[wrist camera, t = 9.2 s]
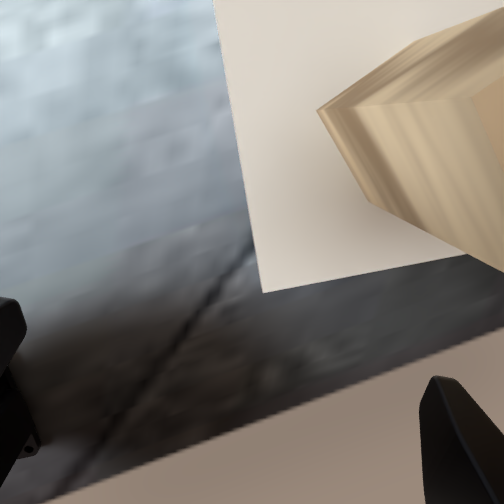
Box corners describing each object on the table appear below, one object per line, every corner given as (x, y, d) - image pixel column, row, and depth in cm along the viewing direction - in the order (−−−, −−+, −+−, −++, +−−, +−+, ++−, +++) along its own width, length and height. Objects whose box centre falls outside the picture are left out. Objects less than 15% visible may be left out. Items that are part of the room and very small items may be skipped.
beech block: (368, 201, 19) (558, 300, 9) (315, 110, 17) (471, 97, 7) (459, 140, 18) (778, 168, 8) (413, 40, 17) (737, -84, 7)
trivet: (261, 286, 21) (263, 293, 20) (208, -22, 16) (208, -29, 15) (515, 237, 21) (526, 242, 21) (534, -74, 17) (550, -83, 16)
